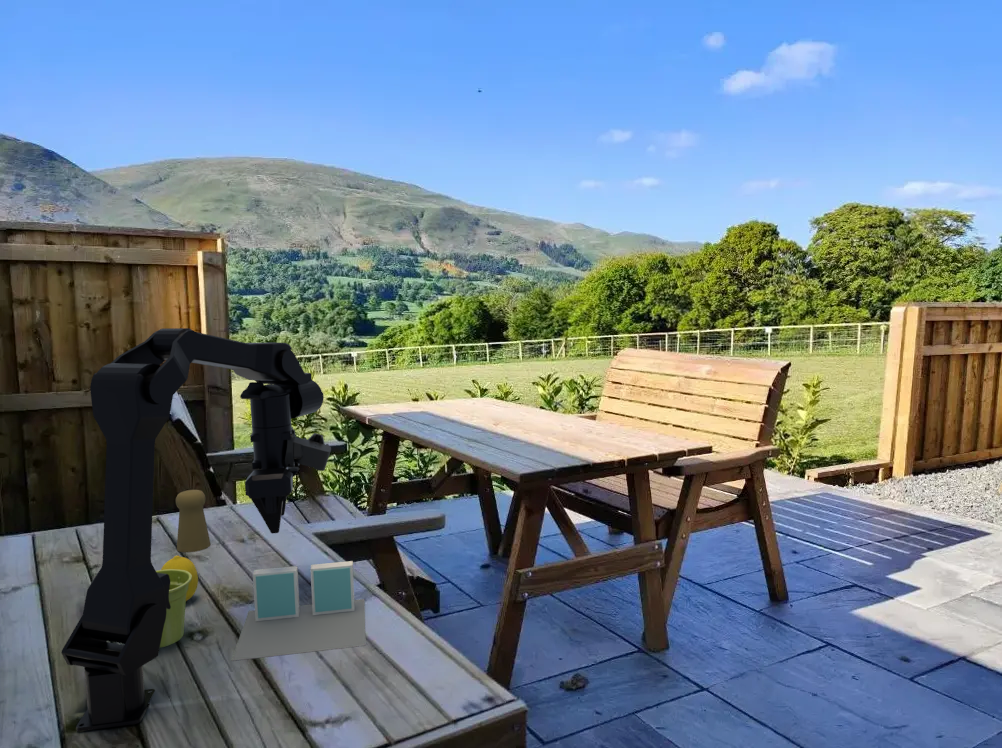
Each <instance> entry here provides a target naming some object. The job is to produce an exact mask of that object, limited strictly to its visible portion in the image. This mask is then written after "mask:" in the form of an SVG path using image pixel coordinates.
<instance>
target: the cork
mask: <svg viewBox="0 0 1002 748" xmlns="http://www.w3.org/2000/svg"><path fill="white" fill-rule="evenodd" d="M175 505H176V508H178V510H179V511H178V512H179V515H178V524H177V526H178V527H177V538H176V539H177V540H176V551H178V552H179V553H194V552H199V551H203V550H205V549H208V548H209V547H210V546H211V539H210V534H209V530H208V529H209V528H208V525H207V521H206V517H205V511H204V505H206V495H205V493H204V492H203V490H201V489H188V490H183V491H181V492H179V493H178V494H177V496H176V497H175Z"/></svg>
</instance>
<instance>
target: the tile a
mask: <svg viewBox="0 0 1002 748" xmlns="http://www.w3.org/2000/svg"><path fill="white" fill-rule="evenodd" d="M298 572H299V571H298V565H295V566H293V565H292V566H283V567H272V568H271V567H270V568H263V569H262V568H261V569H254V570H253V574H252V580H253V581H252V582H253V596H254V598H253V599H254V600H253V601H254V610H255V619H256V621H263V620H273V619H282V618H292V617H299V612H300V609H299V606H300V593H299V592H300V591H299V590H300V589H299V573H298Z"/></svg>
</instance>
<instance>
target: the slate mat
mask: <svg viewBox="0 0 1002 748" xmlns="http://www.w3.org/2000/svg"><path fill="white" fill-rule="evenodd" d="M354 605H355V609H354V611H349V612H339V613H330V614H320V615H313V609H312V603H311V604H303V605H299V609H300V612H299V617H292V618H282V619H273V620H263V621H256V619H255V609H253V610H248V612H247V614H246V618H245V621H244V623H243V626H242V630H241V632H240V635H239V637H238V640H237V643H236V646H235V649H234V652H233V654H232V658H231V661H230V662H237V661H244V660H254V659H262V658H271V657H278V656H279V657H280V656H286V655H287V656H288V655H296V654H306V653H314V652H321V651H322V652H323V651H329V650H330V651H331V650H340V649H349V648H355V647H356V648H357V647H365V646H367V644H366V641H367V640H366V608H365V605H366V602H365V598H362V599H354Z"/></svg>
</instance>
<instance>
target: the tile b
mask: <svg viewBox="0 0 1002 748" xmlns="http://www.w3.org/2000/svg"><path fill="white" fill-rule="evenodd" d="M353 563H354V562H353V560H350V561H339V562H328V563H316V564H315V563H314V564H311V565H310V584H311V587H310V589H311V604H312V609H313V615H320V614H330V613H339V612H349V611H354V609H355V605H354V600H355V587H354V586H355V585H354V566H353V565H354V564H353Z"/></svg>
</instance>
